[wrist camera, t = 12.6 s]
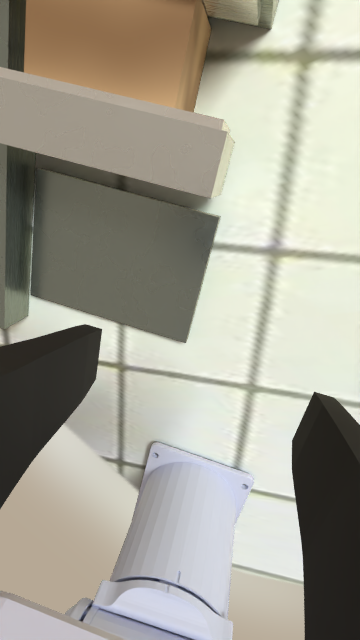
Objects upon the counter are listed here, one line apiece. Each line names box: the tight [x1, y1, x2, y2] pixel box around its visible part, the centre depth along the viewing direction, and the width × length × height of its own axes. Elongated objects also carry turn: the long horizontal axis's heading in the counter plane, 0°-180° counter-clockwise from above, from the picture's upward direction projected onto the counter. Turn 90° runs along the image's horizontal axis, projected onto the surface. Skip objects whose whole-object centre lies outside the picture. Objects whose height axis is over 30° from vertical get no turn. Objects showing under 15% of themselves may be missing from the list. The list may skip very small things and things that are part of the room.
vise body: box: [0, 0, 279, 343], centre depth 17 cm, size 21×13×5 cm, turn 167°
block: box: [24, 0, 211, 112], centre depth 16 cm, size 4×7×4 cm, turn 77°
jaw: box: [0, 67, 235, 198], centre depth 16 cm, size 3×11×4 cm, turn 77°
